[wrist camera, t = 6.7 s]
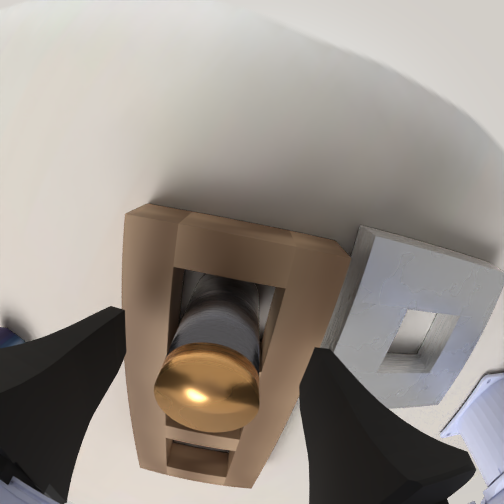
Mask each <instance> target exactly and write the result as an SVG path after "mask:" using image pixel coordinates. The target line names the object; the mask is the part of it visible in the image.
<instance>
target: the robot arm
mask: <svg viewBox="0 0 504 504" xmlns="http://www.w3.org/2000/svg"><path fill="white" fill-rule="evenodd" d="M126 352H127V349H126V327H125V310H123V309H119V308H116V307H112V306H110V307H108V308H106V309H103V310H101V311H99V312H97V313H95V314H93V315H91V316H89V317H87V318H85V319H83V320H81V321H79V322H77V323H75V324H73V325H71V326H69V327H66V328H64V329H62V330H59V331H57V332H55V333H52V334H50V335H47V336H45V337H42V338H39V339H36V340H33V341H30V342H26V343H23V344H18V345H14V346H9V347H4V348H0V504H64V503H67V497H68V492H69V487H70V482H71V477H72V474H73V470H74V466H75V463H76V459H77V456H78V453H79V450H80V447H81V444H82V441H83V438H84V436H85V433H86V430H87V428H88V425H89V423H90V420H91V418H92V416H93V414H94V412H95V411H96V409H97V407H98V405H99V404H100V402H101V400H102V399H103V397H104V395H105V393H106V392H107V390H108V388H109V387H110V385H111V383H112V382H113V380H114V378H115V376H116V375H117V373H118V371H119V369H120V366H121V364H122V362H123V359H124V357H125V354H126ZM299 399H300V411H301V417H302V423H303V429H304V435H305V440H306V446H307V452H308V460H309V482H310V488H309V504H449V503H448V500H447V498H448V497H450V496H451V495H452V494H453V493H455V492H456V491H457V490H459V489H460V488H461V487H462V486H463V485H465V484H466V483H467V482H468V481H469V480H470V479H471V478H472V477H473V475H474V473H475V471H476V468H475V466H474V464H473V462H472V460H471V458H470V456H469V454H468V452H467V451H464V450H461V449H458V448H456V447H453V446H450V445H448V444H445V443H443V442H440V441H438V440H436V439H434V438H432V437H430V436H428V435H426V434H425V433H423V432H421V431H419V430H418V429H416V428H414V427H413V426H411V425H410V424H408V423H407V422H405V421H404V420H402V419H401V418H399V417H398V416H397V415H395V414H394V413H393V412H392V411H390V410H389V409H388V408H387V407H385V406H384V405H383V404H382V403H381V402H380V401H379V400H378V399H376V398H375V397H374V396H373V395H372V394H371V393H370V392H369V391H368V390H367V389H366V388H365V387H364V386H363V385H362V384H361V383H360V382H359V381H358V379H357V378H356V377H355V376H354V375H353V374H352V373H351V372H350V371H349V370H348V368H347V367H346V366H345V365H344V364H343V363H342V362H341V360H340V359H339V358H338V357H337V356H336V355H335V354H334V353H333V352H332V351H331V350H330V349H326V348H318V347H315V348H314V350H313V353H312V355H311V358H310V360H309V363H308V365H307V368H306V370H305V373H304V375H303V377H302V380H301V382H300V385H299ZM457 434H460V435H461V436H462V438H463V440H464V442H465V444H466V446H467V447H468V449H469V451H470V453H471V455H472V457H473V459H474V461H475V462H476V464H477V466H478V468H479V470H480V472H481V474H482V476H483V478H484V480H485V483H486V484H487V487H488V488H487V489H486V490H485V491H483V494H484V496H485V497H484V498H483V499H482V501H481V504H504V373H498V374H490V375H485V376H484V377H483V378H482V379H481V381H480V382H479V384H478V385H477V387H476V388H475V390H474V391H473V393H472V394H471V395H470V397H469V398H468V400H467V401H466V402H465V404H464V405H463V406H462V408H461V409H460V410H459V412H458V413H457V414H456V415H455V417H454V418H453V419H452V420H451V422H450V423H449V424H448V425H447V426H446V428H445V429H444V430H443V431H442V432H441V434H440V437H441V438H445V437H449V436H453V435H457ZM468 504H476V503H475V501H473V502H470V503H468Z"/></svg>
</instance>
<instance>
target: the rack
mask: <svg viewBox="0 0 504 504" xmlns="http://www.w3.org/2000/svg"><path fill="white" fill-rule="evenodd" d="M350 261H351V257H350V256H349V255H348V254H347V253H346V252H345V251H344V249H343V248H342V247H341V246H340V245H339V244H338V243H337V242H336V241H335V240H331V239H326V238H322V237H317V236H313V235H308V234H303V233H299V232H294V231H289V230H284V229H279V228H275V227H270V226H265V225H260V224H255V223H250V222H245V221H240V220H235V219H229V218H224V217H219V216H214V215H208V214H203V213H198V212H192V211H187V210H181V209H176V208H170V207H164V206H159V205H153V204H145V205H143V206H141V207H139V208H137V209H134V210H132V211H130V212H128V213H126V214H125V221H124V235H123V254H122V309H123V310H125V327H126V349H127V352H126V354H125V357H124V362H125V374H126V384H127V393H128V401H129V408H130V415H131V422H132V428H133V434H134V440H135V445H136V450H137V455H138V460H139V465H140V468H143V469H147V470H150V471H154V472H158V473H162V474H166V475H170V476H174V477H178V478H183V479H188V480H193V481H198V482H204V483H210V484H216V485H223V486H231V487H240V488H252V486H253V485H254V483H255V481H256V479H257V478H258V476H259V474H260V472H261V471H262V469H263V467H264V465H265V463H266V462H267V460H268V458H269V456H270V454H271V452H272V450H273V448H274V447H275V445H276V443H277V441H278V439H279V437H280V435H281V433H282V431H283V429H284V427H285V425H286V423H287V421H288V419H289V416H290V414H291V412H292V410H293V408H294V406H295V404H296V402H297V399H298V397H299V385H300V382H301V380H302V377H303V375H304V373H305V370H306V368H307V365H308V363H309V360H310V358H311V355H312V353H313V350H314V348H315V347H318V348H320V346H321V343H322V340H323V338H324V335H325V333H326V330H327V327H328V325H329V322H330V319H331V317H332V314H333V311H334V308H335V306H336V303H337V300H338V297H339V294H340V291H341V288H342V285H343V282H344V279H345V276H346V273H347V270H348V267H349V264H350ZM185 269H187V270H192V271H197V272H202V273H207V274H212V275H217V276H222V277H227V278H232V279H237V280H242V281H247V282H253V283H258V284H263V285H269V286H274V287H275V291H274V295H273V299H272V303H271V307H270V310H269V314H268V318H267V322H266V325H265V329H264V333H263V337H262V340H261V342H259V397H260V403H259V411H258V413H257V415H256V416H255V418H254V419H253V420H252V421H251V422H250V423H248V424H247V425H245V426H243V427H242V428H239V429H236V430H233V431H228V432H204V431H199V430H195V429H192V428H189V427H186V426H184V425H182V424H180V423H178V422H176V421H175V420H173V419H172V418H170V417H169V416H168V415H167V414H166V413H164V411H163V410H162V409H161V408H160V406H159V405H158V403H157V401H156V399H155V396H154V385H155V382H156V379H157V377H158V375H159V372H160V370H161V367H162V365H163V362H164V360H165V358H166V355H167V353H168V351H169V348H170V346H171V343H172V341H173V339H174V336H175V334H176V332H177V329H178V327H179V317H180V307H181V297H182V288H183V279H184V270H185ZM173 440H177V441H181V442H186V443H191V444H196V445H201V446H206V447H212V448H218V449H224V450H229V453H225V452H218V451H212V450H207V449H201V448H196V447H191V446H186V445H182V444H177V443H173Z"/></svg>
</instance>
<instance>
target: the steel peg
mask: <svg viewBox="0 0 504 504" xmlns="http://www.w3.org/2000/svg"><path fill="white" fill-rule="evenodd" d="M154 396H155V399H156V401H157V403H158V405H159V406H160V408H161V409H162V410H163V411H164V413H166V414H167V415H168V416H169V417H170V418H172V419H173V420H175V421H176V422H178V423H180V424H182V425H184V426H186V427H189V428H192V429H195V430H199V431H204V432H228V431H233V430H236V429H239V428H242V427H243V426H245V425H247V424H248V423H250V422H251V421H252V420H253V419H254V418H255V416H256V415H257V413H258V411H259V403H260V397H259V294H258V290H257V287H256V285H255V284H254V283H253V282H247V281H242V280H237V279H232V278H227V277H222V276H217V275H212V274H205V275H204V276H203V277H202V278H201V279H200V281H199V282H198V284H197V286H196V289H195V291H194V293H193V295H192V297H191V300H190V302H189V304H188V307H187V309H186V311H185V313H184V316H183V318H182V320H181V322H180V325H179V327H178V329H177V332H176V334H175V336H174V339H173V341H172V343H171V346H170V348H169V351H168V353H167V355H166V358H165V360H164V362H163V365H162V367H161V370H160V372H159V375H158V377H157V379H156V382H155V385H154Z"/></svg>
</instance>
